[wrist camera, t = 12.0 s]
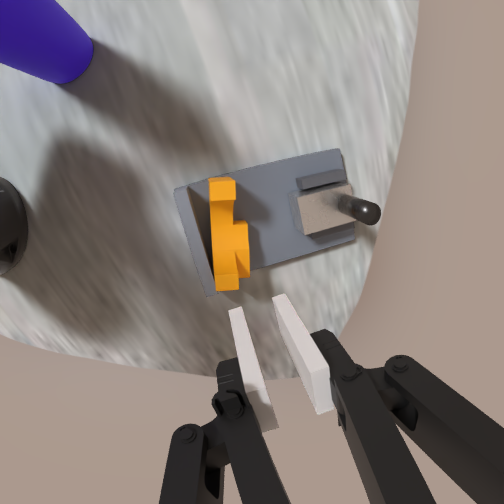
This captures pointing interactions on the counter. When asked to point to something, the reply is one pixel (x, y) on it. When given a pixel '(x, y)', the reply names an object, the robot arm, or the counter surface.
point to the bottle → (43, 40)
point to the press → (263, 212)
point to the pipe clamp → (227, 236)
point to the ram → (330, 207)
